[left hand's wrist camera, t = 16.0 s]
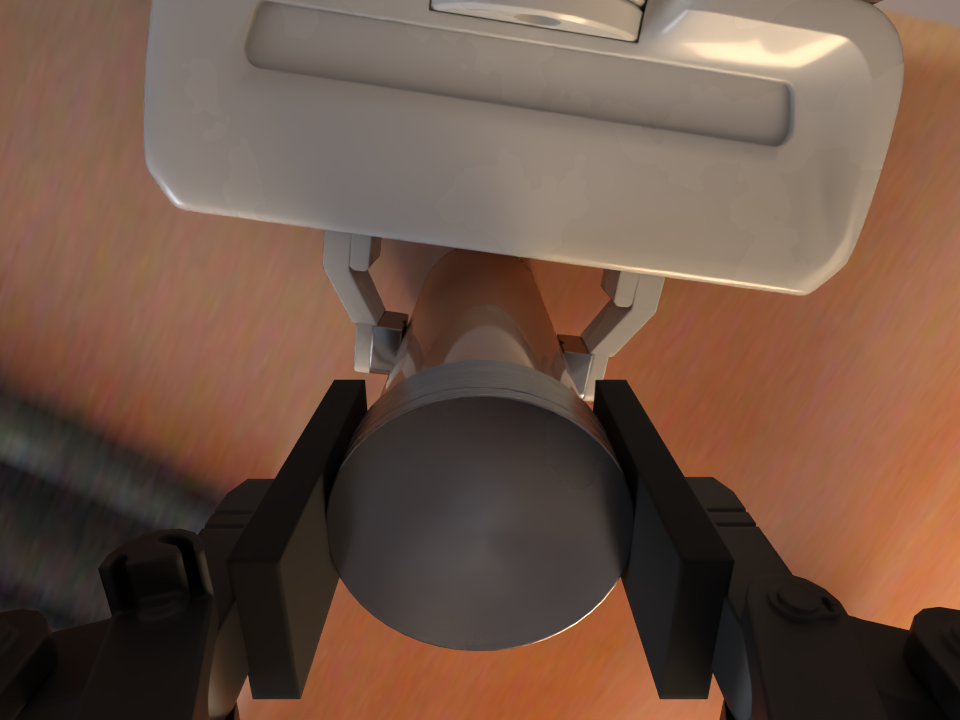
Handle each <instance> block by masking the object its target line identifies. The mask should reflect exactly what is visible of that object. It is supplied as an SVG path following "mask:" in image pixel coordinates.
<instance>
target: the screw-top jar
mask: <svg viewBox="0 0 960 720" xmlns="http://www.w3.org/2000/svg"><path fill="white" fill-rule="evenodd" d="M464 360H495V361H505V362H510V363H514V364H519V365H523V366H526V367H529V368H532V369H534V370H537V371H540V372H542V373H544V374H546V375H548V376H550V377H552V378H554V379H556V380H558V381H559V382H561V383H562V384H564V385H565V386H567V387H568V388H569V389H571V390H572V391H574V392H575V393H576V394H577V395H578V396H579V397H580V395H579V392H578V390H577V387H576V385H575V382H574V379H573V377H572V374H571V372H570V369H569V367H568V364H567V361H566V359H565V356H564V354H563V351H562V348H561V346H560V343H559V341H558V338H557V335H556V333H555V330H554V328H553V325H552V323H551V320H550V317H549V315H548V312H547V310H546V307H545V304H544V302H543V299H542V297H541V294H540V291H539V289H538V286H537V284H536V281H535V279H534V277H533V275H532V274H531V272H530V270H529V269H528V268H527V267H526V265H525V264H524V263H523V262H522V261H521V260H520V259H518V258H517V257H516V256H510V255H503V254H496V253H489V252H482V251H474V250H467V249H457V250H455V251H453V252H451V253H449V254H448V255H446V256H444V257H443V258H442V259H441V260H440V261H438V262H437V264H436V265H435V266H434V267H433V268H432V269H431V271H430V272H429V274H428V276H427V278H426V280H425V282H424V284H423V287H422V290H421V292H420V295H419V297H418V300H417V303H416V305H415V308H414V310H413V313H412V316H411V318H410V321H409V323H408V326H407V328H406V331H405V334H404V336H403V339H402V341H401V344H400V347H399V349H398V352H397V354H396V357H395V360H394V362H393V365H392V367H391V370H390V372H389V375H388V378H387V380H386V383H385V385H384V388H383V391H382V393H381V396H382V395H383V394H384V393H386V392H387V391H388V390H390V389H391V388H392V387H394V386H395V385H396V384H398V383H399V382H401V381H403V380H405V379H406V378H408V377H410V376H412V375H414V374H416V373H418V372H421V371H423V370H426V369H428V368H431V367H434V366H438V365H442V364H445V363H450V362H457V361H464ZM381 396H380V397H381Z"/></svg>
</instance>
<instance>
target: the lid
mask: <svg viewBox="0 0 960 720" xmlns="http://www.w3.org/2000/svg"><path fill="white" fill-rule="evenodd" d="M326 525H327V534H328V543H329V550H330V554H331V558H332V561H333V564H334V566H335V568H336V570H337V572H338V574H339V576H340V578H341V580H342V581H343V583H344V584H345V586H346V587H347V589H348V590H349V592H350V593H351V594H352V595H353V596H354V597H355V599H356V600H357V601H358V602H359V603H360V604H361V605H362V606H363V607H364V608H365V609H366V610H367V611H369V612H370V613H371V614H372V615H373V616H374V617H376V618H377V619H379V620H380V621H382V622H383V623H384V624H386V625H387V626H389V627H391V628H393V629H395V630H396V631H398V632H400V633H402V634H404V635H406V636H409V637H411V638H414V639H416V640H419V641H421V642H425V643H428V644H432V645H435V646H439V647H444V648H450V649H455V650H467V651H495V650H504V649H511V648H516V647H521V646H525V645H529V644H532V643H535V642H538V641H541V640H545V639H547V638H549V637H552V636H554V635H556V634H558V633H560V632H563V631H564V630H566V629H568V628H569V627H571V626H573V625H574V624H576V623H578V622H579V621H580V620H582V619H583V618H584V617H586V616H587V615H588V614H590V613H591V612H592V611H593V610H594V609H595V608H596V607H597V606H598V605H599V604H600V603H601V602H602V601H603V600H604V599H605V598H606V597H607V595H608V594H609V593H610V592H611V590H612V589H613V588H614V587H615V585H616V583H617V581H618V580H619V578H620V576H621V575H622V573H623V571H624V569H625V566H626V564H627V561H628V559H629V556H630V552H631V545H632V537H633V528H634V505H633V500H632V496H631V492H630V488H629V486H628V483H627V481H626V479H625V476H624V474H623V471H622V469H621V467H620V464H619V462H618V460H617V457H616V455H615V453H614V450H613V448H612V446H611V443H610V441H609V438H608V436H607V434H606V431H605V429H604V428H603V426H602V424H601V423H600V421H599V419H598V418H597V416H596V415H595V413H594V412H593V411H592V410H591V409H590V407H589V406H588V405H587V404H586V403H585V402H584V401H583V400H582V399H581V398H580V397H579V396H578V395H577V394H576V393H575V392H574V391H572V390H571V389H569V388H568V387H567V386H565V385H564V384H562V383H561V382H559V381H558V380H556V379H554V378H552V377H550V376H548V375H546V374H544V373H542V372H540V371H537V370H534V369H532V368H529V367H526V366H523V365H519V364H514V363H510V362H505V361H495V360H464V361H457V362H450V363H445V364H442V365H438V366H434V367H431V368H428V369H426V370H423V371H421V372H418V373H416V374H414V375H412V376H410V377H408V378H406V379H405V380H403V381H401V382H399V383H398V384H396V385H395V386H394V387H392V388H391V389H390V390H388V391H387V392H386V393H384V394H383V395H382V396H381V397H380V398H379V399H378V400H377V401H376V402H375V403H374V404H373V405H372V406H371V407H370V409H369V410H368V411H367V413H366V414H365V415H364V417H363V418H362V420H361V421H360V423H359V425H358V427H357V429H356V430H355V432H354V434H353V436H352V439H351V441H350V443H349V446H348V448H347V450H346V453H345V455H344V457H343V460H342V462H341V464H340V467H339V469H338V471H337V474H336V476H335V478H334V481H333V484H332V487H331V490H330V493H329V496H328V502H327V508H326Z"/></svg>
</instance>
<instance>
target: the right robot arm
mask: <svg viewBox="0 0 960 720" xmlns="http://www.w3.org/2000/svg"><path fill="white" fill-rule="evenodd" d="M880 1H882V0H152V3H151V12H150V21H149V31H148V41H147V51H146V68H145V85H144V154H145V161H146V166H147V169H148V171H149V173H150V174H151V176H152V177H153V178H154V180H155V181H156V183H157V184H158V185H159V187H160V188H161V190H162V191H163V192H164V194H165V195H166V196H167V197H168V199H169V200H170V201H171V202H172V204H173V205H174V206H176V207H177V208H179V209H182V210H188V211H194V212H201V213H208V214H215V215H223V216H230V217H237V218H244V219H251V220H259V221H266V222H273V223H280V224H287V225H295V226H302V227H309V228H316V229H323V230H324V249H323V268H324V270H325V272H326V274H327V275H328V277H329V279H330V281H331V283H332V285H333V287H334V289H335V290H336V292H337V294H338V296H339V298H340V300H341V302H342V304H343V306H344V307H345V309H346V311H347V313H348V315H349V317H350V319H351V321H352V322H353V323H357V324H356V340H355V356H354V368H355V371H358V372H364V373H376V374H385V375H389V372H390V370H391V367H392V365H393V362H394V360H395V357H396V354H397V352H398V349H399V347H400V344H401V341H402V339H403V336H404V334H405V331H406V328H407V326H408V315H409V314H404V313H398V312H391V311H385V307H384V305H383V303H382V301H381V298H380V296H379V294H378V292H377V290H376V287H375V285H374V283H373V281H372V279H371V276H370V274H369V272H368V270H367V269H368V268H369V267H370V266H371V265H372V264H373V263H374V262H375V260H376V259H377V258H378V257H379V256H380V248H381V238H388V239H395V240H402V241H410V242H417V243H424V244H431V245H438V246H446V247H453V248H460V249H467V250H474V251H482V252H489V253H496V254H503V255H510V256H518V257H525V258H532V259H539V260H546V261H554V262H561V263H568V264H575V265H582V266H590V267H597V268H604V272H603V277H602V282H601V287H602V289H603V290H604V291H605V292H606V293H607V295H608V296H609V297H610V298H611V300H610V301H609V302H608V303H607V304H606V305H605V307H604V308H603V309H602V310H601V311H600V313H599V314H598V315H597V316H596V317H595V318H594V320H593V321H592V322H591V323H590V324H589V326H588V327H587V328H586V329H585V330H584V332H583V333H582V334H581V337H580V336H571V335H562V334H558V335H557V338H558V341H559V343H560V346H561V348H562V351H563V354H564V356H565V359H566V361H567V364H568V367H569V369H570V372H571V374H572V377H573V379H574V382H575V385H576V387H577V390H578V392H579V395H580V398H581V399H582V400H586V401H594V392H595V380H603V379H604V375H605V370H606V366H607V362H608V358H609V356H610V357H613V356H614V355H615V354H616V353H617V352H618V351H619V350H620V349H621V348H622V347H623V346H624V345H625V344H626V343H627V342H628V341H629V339H630V338H631V337H632V336H633V335H634V334H635V333H636V332H637V331H638V330H639V329H640V328H641V327H642V326H643V325H644V324H645V323H646V322H647V321H648V320H649V319H650V318H651V317H652V316H653V315H654V314H655V313H656V310H657V307H658V303H659V299H660V295H661V291H662V288H663V284H664V280H665V277H669V278H676V279H683V280H690V281H698V282H705V283H712V284H719V285H726V286H734V287H741V288H748V289H755V290H762V291H770V292H777V293H784V294H791V295H799V296H801V295H807V294H810V293H811V292H813V291H814V290H816V289H817V288H818V287H820V286H821V285H822V284H824V283H825V282H826V281H827V280H829V279H830V278H831V277H832V276H834V275H835V274H836V273H837V272H838V271H840V270H841V269H842V268H843V267H844V266H845V264H846V263H847V261H848V260H849V258H850V256H851V254H852V252H853V250H854V248H855V245H856V243H857V240H858V238H859V236H860V233H861V230H862V228H863V225H864V222H865V219H866V216H867V214H868V211H869V208H870V205H871V202H872V199H873V196H874V193H875V190H876V187H877V183H878V180H879V177H880V174H881V171H882V167H883V164H884V161H885V157H886V154H887V150H888V147H889V143H890V140H891V136H892V132H893V128H894V124H895V120H896V116H897V112H898V107H899V103H900V99H901V93H902V87H903V76H904V56H903V49H902V45H901V40H900V37H899V34H898V32H897V30H896V28H895V26H894V25H893V23H892V22H891V20H890V19H889V18H888V17H887V16H886V15H885V14H884V13H883V12H882V11H881V10H880V9H878V8H877V7H875V6H874V5H873V4H875V3H878V2H880Z"/></svg>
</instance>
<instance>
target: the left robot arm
mask: <svg viewBox="0 0 960 720" xmlns="http://www.w3.org/2000/svg"><path fill="white" fill-rule="evenodd" d="M593 412H594V413H595V415H596V416H597V418H598V419H599V421H600V423H601V424H602V426H603V428H604V429H605V431H606V434H607V436H608V438H609V441H610V443H611V446H612V448H613V450H614V453H615V455H616V457H617V460H618V462H619V464H620V467H621V469H622V471H623V474H624V476H625V479H626V481H627V483H628V486H629V488H630V492H631V496H632V500H633V505H634V528H633V537H632V545H631V552H630V556H629V559H628V561H627V564H626V566H625V569H624V571H623V573H622V575H621V579H622V582H623V585H624V588H625V592H626V595H627V598H628V601H629V604H630V607H631V610H632V613H633V617H634V620H635V623H636V626H637V629H638V632H639V635H640V638H641V642H642V645H643V648H644V651H645V654H646V657H647V660H648V663H649V667H650V670H651V673H652V676H653V679H654V682H655V685H656V689H657V692H658V695H659V698H660V699H708V694H709V689H710V684H711V679H712V674H714V676H715V678H716V680H717V683H718V685H719V687H720V690H721V692H722V694H723V697H724V701H723V706H722V711H721V715H720V720H960V610H955V609H949V608H943V607H935V608H927V609H923V610H921V611H920V612H919V613H918V614H916V615H915V616H914V618H913V621H912V624H911V627H910V630H905V629H901V628H897V627H892V626H888V625H884V624H879V623H875V622H871V621H866V620H862V619H859V618H856V617H852V616H849V615H848V614H847V612H846V611H845V609H844V608H843V606H842V605H841V603H840V602H839V601H838V600H837V599H836V598H835V597H834V596H833V595H831V594H830V593H829V592H828V591H827V590H825V589H824V588H822V587H820V586H818V585H816V584H814V583H813V582H811V581H809V580H807V579H804V578H800V577H797V576H794V575H793V574H792V573H791V572H790V570H789V569H788V567H787V566H786V565H785V563H784V562H783V560H782V559H781V558H780V556H779V555H778V553H777V552H776V551H775V549H774V548H773V546H772V545H771V544H770V542H769V541H768V539H767V538H766V537H765V535H764V534H763V532H762V531H761V530H760V528H759V527H756V523H755V521H754V520H753V518H752V517H751V516H750V514H749V513H748V512H746V509H745V507H744V506H743V504H742V503H741V502H740V500H739V499H738V497H737V496H736V495H735V493H734V492H733V491H732V490H730V489H729V488H727V487H726V486H725V485H723V484H722V483H720V482H719V481H717V480H716V479H715V478H713V477H684V475H683V474H682V472H681V470H680V469H679V467H678V465H677V464H676V462H675V460H674V459H673V457H672V456H671V454H670V452H669V451H668V449H667V447H666V446H665V444H664V442H663V441H662V439H661V437H660V436H659V434H658V432H657V431H656V429H655V427H654V426H653V424H652V422H651V421H650V419H649V417H648V416H647V414H646V412H645V411H644V409H643V407H642V406H641V404H640V402H639V401H638V399H637V397H636V396H635V394H634V392H633V391H632V389H631V387H630V386H629V384H628V382H627V381H626V380H595V392H594V405H593ZM366 413H367V400H366V388H365V380H334V381H333V383H332V385H331V386H330V388H329V390H328V391H327V393H326V395H325V396H324V398H323V400H322V401H321V403H320V405H319V406H318V408H317V410H316V411H315V413H314V415H313V416H312V418H311V420H310V421H309V423H308V424H307V426H306V428H305V429H304V431H303V433H302V434H301V436H300V438H299V439H298V441H297V443H296V444H295V446H294V448H293V449H292V451H291V453H290V454H289V456H288V458H287V459H286V461H285V463H284V464H283V466H282V468H281V469H280V471H279V473H278V474H277V476H276V478H275V479H247V480H246V481H244V482H243V483H241V484H240V485H239V486H237V487H236V488H234V489H233V490H232V491H230V492H229V493H227V495H226V496H225V497H224V499H223V500H222V502H221V503H220V504H219V506H218V507H217V509H216V510H215V514H212V516H211V517H210V519H209V520H208V521H207V523H206V524H205V528H204V529H202V530H201V531H200V533H199V534H198V535H197V534H196V533H194V532H191V531H187V530H182V529H170V530H160V531H156V532H152V533H149V534H145V535H142V536H139V537H137V538H135V539H133V540H131V541H129V542H127V543H124V544H123V545H121V546H120V547H119V548H117V549H116V550H115V551H113V552H112V553H111V554H109V555H108V556H107V557H106V559H105V560H104V561H103V563H102V564H101V565H100V567H99V568H98V570H99V573H100V576H101V580H102V583H103V587H104V590H105V593H106V597H107V600H108V603H109V607H110V610H111V614H112V617H111V618H109V619H106V620H103V621H99V622H95V623H91V624H87V625H83V626H78V627H74V628H70V629H65V630H61V631H57V632H53V633H52V631H51V629H50V626H49V623H48V620H47V618H46V617H45V616H43V615H42V614H41V613H40V612H38V611H32V610H24V609H20V610H14V611H8V612H2V613H0V720H240V718H239V711H238V706H237V701H236V700H237V698H238V696H239V693H240V691H241V689H242V686H243V684H244V682H245V679H246V677H247V675H248V677H249V682H250V687H251V692H252V697H253V699H301V696H302V693H303V690H304V686H305V683H306V680H307V677H308V674H309V671H310V668H311V665H312V661H313V658H314V655H315V652H316V649H317V646H318V643H319V640H320V636H321V633H322V630H323V627H324V624H325V621H326V618H327V614H328V611H329V608H330V605H331V602H332V599H333V596H334V593H335V589H336V586H337V583H338V580H339V577H340V576H339V574H338V572H337V570H336V568H335V566H334V564H333V561H332V558H331V554H330V550H329V543H328V534H327V525H326V508H327V502H328V496H329V493H330V490H331V487H332V484H333V481H334V478H335V476H336V474H337V471H338V469H339V467H340V464H341V462H342V460H343V457H344V455H345V453H346V450H347V448H348V446H349V443H350V441H351V439H352V436H353V434H354V432H355V430H356V429H357V427H358V425H359V423H360V421H361V420H362V418H363V417H364V415H365V414H366Z"/></svg>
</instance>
